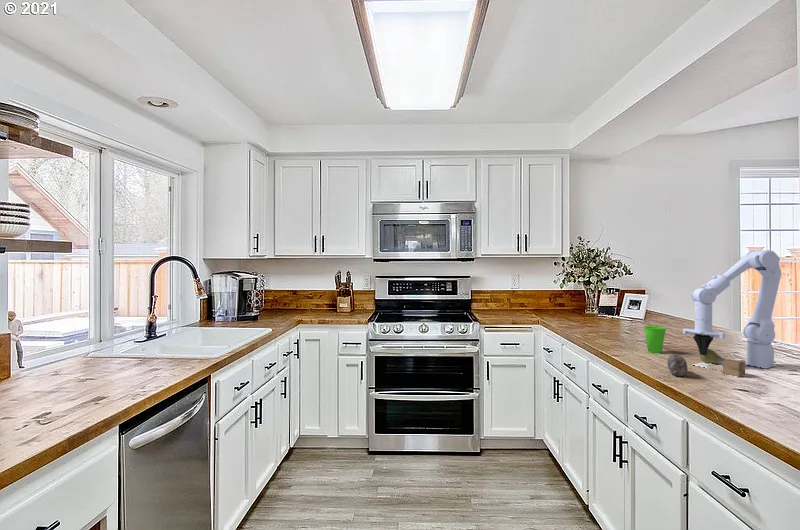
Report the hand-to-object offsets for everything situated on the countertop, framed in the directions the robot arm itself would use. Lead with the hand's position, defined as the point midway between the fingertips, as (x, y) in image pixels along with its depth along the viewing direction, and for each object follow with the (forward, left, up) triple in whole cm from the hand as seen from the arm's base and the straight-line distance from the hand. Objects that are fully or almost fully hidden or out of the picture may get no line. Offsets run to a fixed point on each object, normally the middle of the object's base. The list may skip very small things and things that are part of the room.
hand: (703, 354), depth 187 cm
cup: (-8, -24, -4) cm, 25 cm away
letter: (0, +5, -4) cm, 6 cm away
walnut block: (+8, +14, -4) cm, 17 cm away
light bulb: (-4, +7, -3) cm, 8 cm away
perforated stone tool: (+23, +2, -4) cm, 23 cm away
